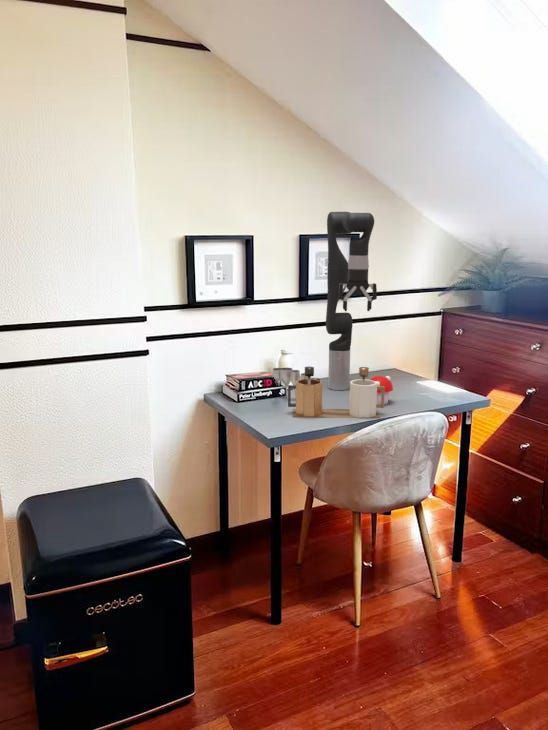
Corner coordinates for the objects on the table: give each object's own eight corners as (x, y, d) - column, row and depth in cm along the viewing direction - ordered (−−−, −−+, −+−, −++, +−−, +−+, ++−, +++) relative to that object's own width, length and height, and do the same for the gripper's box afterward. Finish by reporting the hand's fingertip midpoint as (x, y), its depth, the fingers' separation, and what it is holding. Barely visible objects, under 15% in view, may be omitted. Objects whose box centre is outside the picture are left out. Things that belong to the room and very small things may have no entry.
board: (292, 411, 236) (292, 408, 236) (376, 412, 235) (376, 409, 235) (292, 420, 226) (292, 417, 225) (380, 421, 225) (380, 418, 224)
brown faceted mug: (288, 409, 236) (288, 378, 233) (321, 409, 235) (321, 378, 232) (287, 416, 226) (287, 385, 224) (322, 417, 226) (322, 385, 223)
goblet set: (268, 396, 257) (268, 365, 255) (279, 394, 261) (279, 364, 258) (313, 412, 236) (313, 378, 233) (324, 409, 239) (325, 376, 236)
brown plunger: (352, 408, 233) (354, 365, 229) (370, 408, 233) (371, 366, 229) (354, 413, 227) (355, 369, 223) (372, 413, 226) (374, 370, 223)
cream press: (348, 409, 235) (349, 379, 232) (381, 410, 234) (382, 379, 232) (350, 417, 225) (351, 385, 223) (385, 417, 225) (386, 386, 222)
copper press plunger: (299, 407, 234) (300, 365, 230) (317, 407, 233) (318, 365, 230) (299, 412, 227) (300, 369, 224) (317, 412, 227) (318, 369, 223)
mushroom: (366, 408, 240) (367, 379, 238) (363, 401, 251) (364, 372, 248) (394, 409, 240) (395, 379, 237) (389, 401, 251) (390, 372, 248)
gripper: (376, 267, 233) (374, 309, 237) (338, 267, 234) (337, 309, 238) (378, 268, 226) (377, 312, 230) (339, 268, 227) (338, 312, 230)
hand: (356, 310), depth 234 cm, fingers open, 8 cm apart
